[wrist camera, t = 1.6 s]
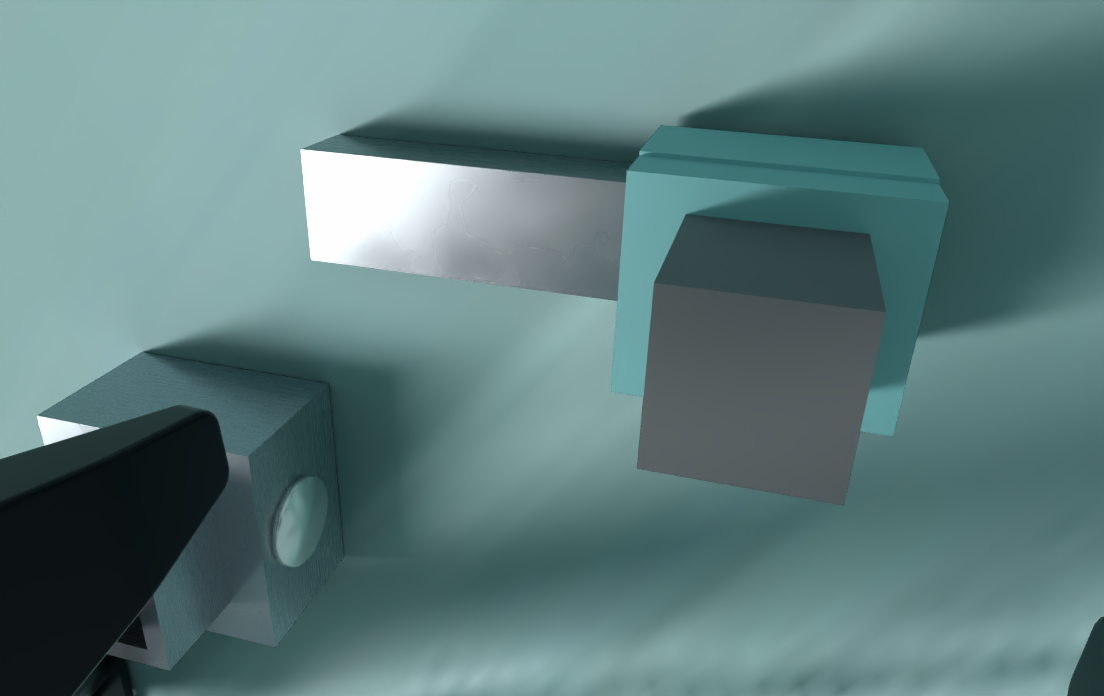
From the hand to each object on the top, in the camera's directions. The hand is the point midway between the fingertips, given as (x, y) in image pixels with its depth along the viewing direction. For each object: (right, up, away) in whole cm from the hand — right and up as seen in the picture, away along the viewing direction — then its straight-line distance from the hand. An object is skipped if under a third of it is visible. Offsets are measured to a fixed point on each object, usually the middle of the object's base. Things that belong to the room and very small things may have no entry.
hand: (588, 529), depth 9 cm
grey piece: (-11, -2, +21) cm, 24 cm away
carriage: (+5, +4, +13) cm, 14 cm away
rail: (+1, +5, +14) cm, 15 cm away
